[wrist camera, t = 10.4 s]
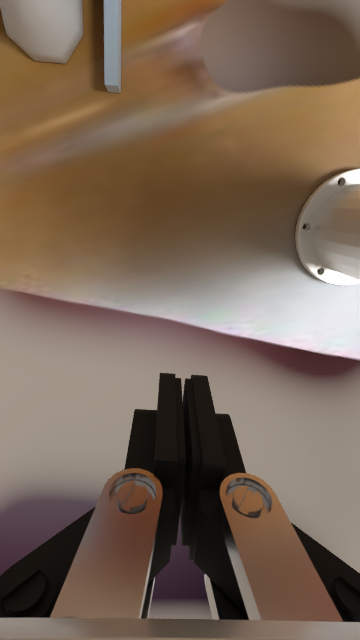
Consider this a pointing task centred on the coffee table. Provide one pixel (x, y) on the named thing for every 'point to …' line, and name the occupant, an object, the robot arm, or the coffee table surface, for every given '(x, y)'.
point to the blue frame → (112, 45)
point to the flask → (44, 27)
